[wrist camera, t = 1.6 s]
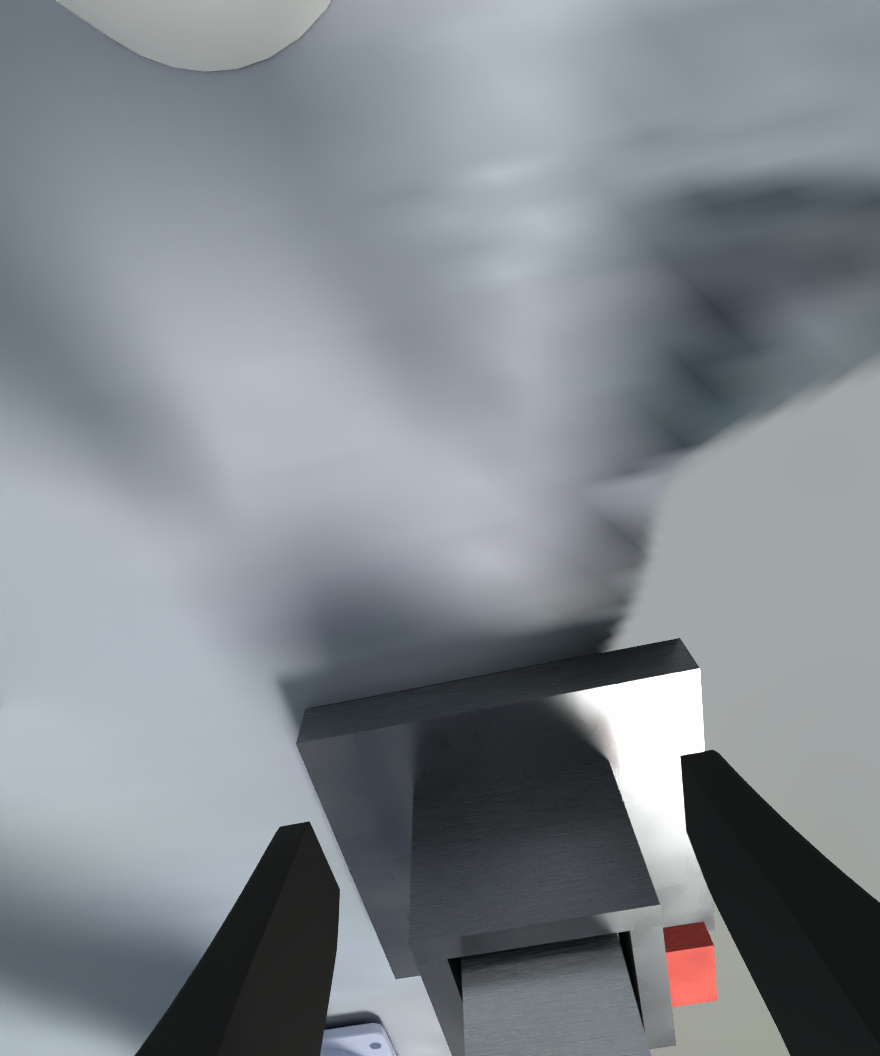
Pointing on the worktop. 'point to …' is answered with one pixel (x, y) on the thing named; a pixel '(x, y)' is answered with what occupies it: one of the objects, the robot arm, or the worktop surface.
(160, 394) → the worktop surface
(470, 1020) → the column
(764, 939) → the robot arm
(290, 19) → the cylindrical container
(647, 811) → the stand
